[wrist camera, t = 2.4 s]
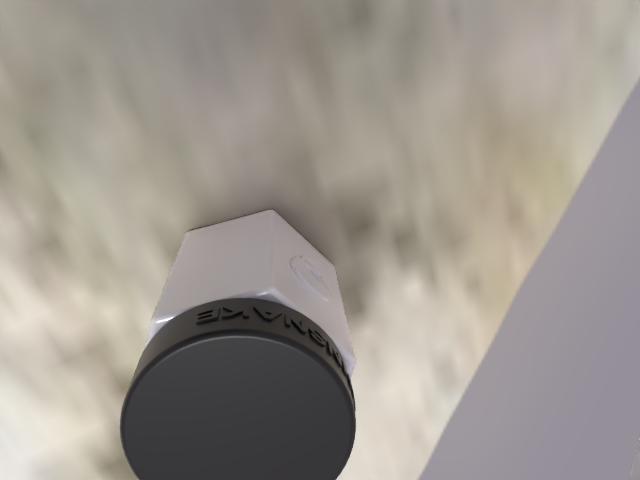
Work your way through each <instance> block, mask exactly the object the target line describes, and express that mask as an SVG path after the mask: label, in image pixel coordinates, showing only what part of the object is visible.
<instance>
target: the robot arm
mask: <svg viewBox="0 0 640 480" xmlns="http://www.w3.org/2000/svg"><path fill="white" fill-rule="evenodd" d="M629 480H640V438H639V442H638V446H637V450H636V454H635V458H634V463H633V467H632V471H631V475H630V479H629Z"/></svg>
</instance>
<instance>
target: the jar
mask: <svg viewBox="0 0 640 480" xmlns="http://www.w3.org/2000/svg"><path fill="white" fill-rule="evenodd" d="M355 364H356V358H355V353H354V349H353V345H352V340H351V336H350V332H349V327H348V323H347V319H346V314H345V310H344V306H343V301H342V297H341V293H340V288H339V284H338V280H337V275H336V271H335V267H334V265H333V264H332V263H331V262H329V261H328V260H327V259H326V258H325V257H324V256H323V255H322V254H321V253H320V252H319V251H317V250H316V249H315V248H314V247H313V246H312V245H311V244H310V243H309V242H308V241H307V240H306V239H304V238H303V237H302V236H301V235H300V234H299V233H298V232H297V231H296V230H295V229H294V228H293V227H291V226H290V225H289V224H288V223H287V222H286V221H285V220H284V219H283V218H282V217H281V216H280V215H279V214H277V213H276V212H275V211H274V210H267V211H263V212H259V213H255V214H252V215H248V216H244V217H240V218H237V219H233V220H229V221H225V222H222V223H218V224H214V225H211V226H207V227H203V228H199V229H196V230H192V231H188V232H187V233H185V235H184V238H183V240H182V243H181V245H180V248H179V250H178V253H177V255H176V258H175V260H174V263H173V265H172V268H171V270H170V273H169V275H168V278H167V280H166V283H165V285H164V288H163V290H162V293H161V295H160V298H159V300H158V303H157V306H156V308H155V311H154V313H153V316H152V318H151V321H150V326H149V331H148V336H147V341H146V346H145V350H144V351H143V353H142V356H141V358H140V360H139V363H138V365H137V368H136V370H135V373H134V376H133V378H132V381H131V383H130V386H129V389H128V391H127V394H126V397H125V399H124V402H123V406H122V411H121V418H120V437H121V442H122V447H123V450H124V454H125V457H126V459H127V461H128V463H129V465H130V467H131V469H132V471H133V472H134V474H135V475H136V476H137V478H138V479H139V480H336V479H337V477H338V476H339V475H340V473H341V472H342V470H343V469H344V467H345V465H346V463H347V461H348V459H349V457H350V454H351V451H352V448H353V444H354V439H355V431H356V418H355V399H354V394H353V389H352V385H351V380H350V379H351V376H352V373H353V370H354V367H355Z"/></svg>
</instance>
